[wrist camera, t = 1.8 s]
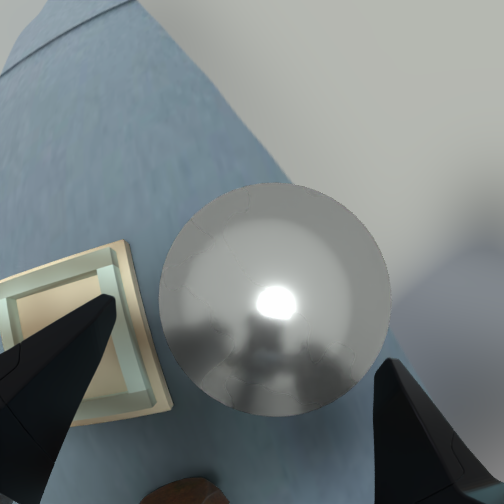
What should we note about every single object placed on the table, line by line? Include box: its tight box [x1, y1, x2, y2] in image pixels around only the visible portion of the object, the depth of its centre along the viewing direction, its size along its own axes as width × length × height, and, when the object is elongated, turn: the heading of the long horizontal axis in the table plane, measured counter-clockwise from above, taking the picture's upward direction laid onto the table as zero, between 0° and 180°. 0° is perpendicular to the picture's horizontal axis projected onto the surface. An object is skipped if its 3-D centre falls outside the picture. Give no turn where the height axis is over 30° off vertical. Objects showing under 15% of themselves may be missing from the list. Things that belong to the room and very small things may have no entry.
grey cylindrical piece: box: [159, 183, 391, 417], centre depth 12 cm, size 5×5×12 cm
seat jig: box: [0, 239, 173, 427], centre depth 16 cm, size 10×10×2 cm
